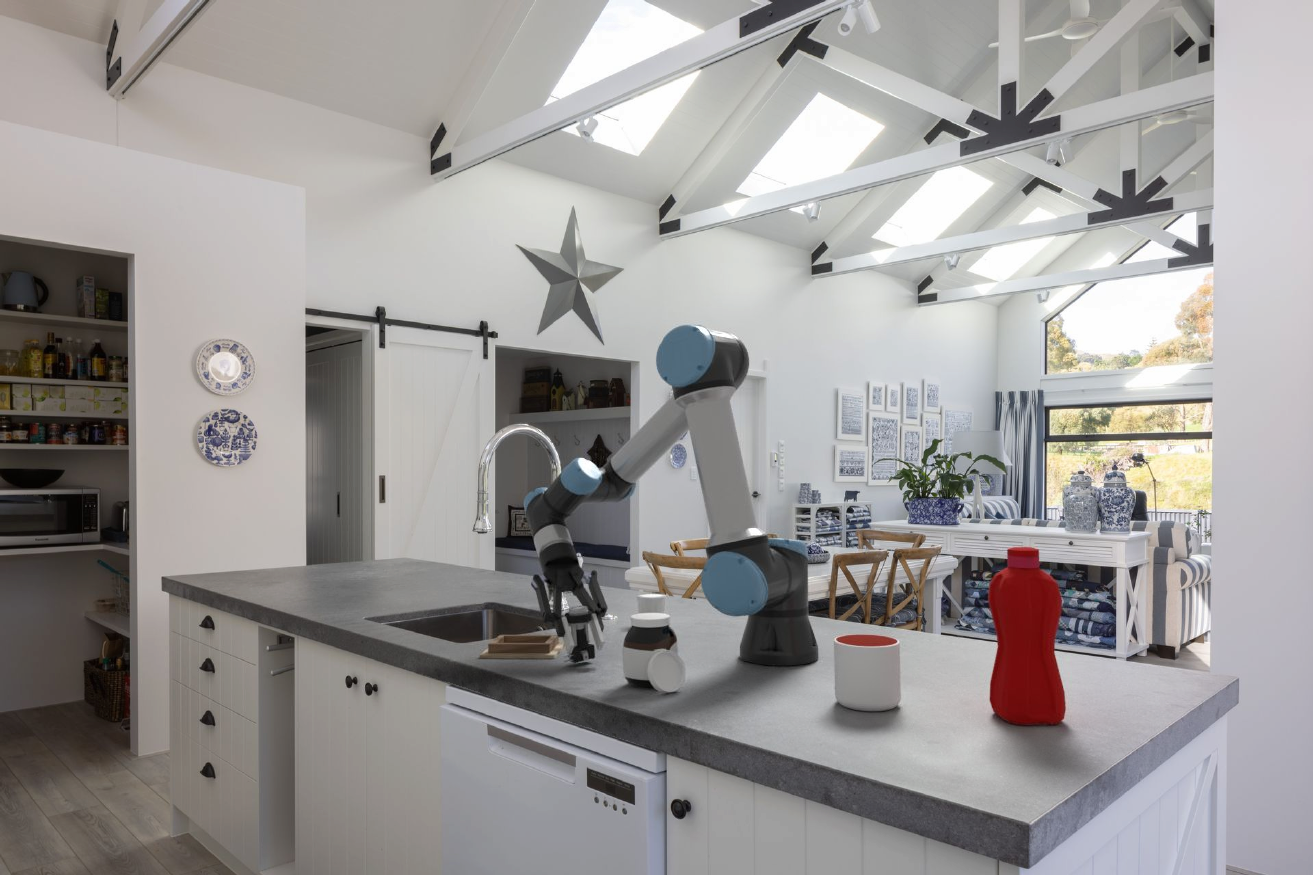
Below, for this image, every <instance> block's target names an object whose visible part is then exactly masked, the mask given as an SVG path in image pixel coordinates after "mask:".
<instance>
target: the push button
mask: <svg viewBox="0 0 1313 875" xmlns="http://www.w3.org/2000/svg"><path fill="white" fill-rule="evenodd" d="M591 615H592V611H589V610H587V606H582V605H576V606H572V607H568V611H567V612H565V613H564V616H563V617H565V616H566V618H567V622H568V624H569V627H570V632H571V635H572V638H573V641H574V648H573V650H572V653H571V654H567V655H564V656H563V658H568V659H567V660H564V661H563V662H564V663H568V662H570V663H573V664H574V663H575V664H577V663H580V662H584V661H588V660H594V659H595V658H596V650H595V648H596V647H595V645H594V644H592V643H591V639H590V635H589V621H591V619H592V617H591Z"/></svg>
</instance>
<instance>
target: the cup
mask: <svg viewBox="0 0 1313 875" xmlns="http://www.w3.org/2000/svg"><path fill="white" fill-rule="evenodd" d="M900 643H901V642H900V641H899V639H897V638H894V637H893V636H892V637H891V636H888V635H881V634H871V633H869V634H866V633H863V634H861V633H858V634H857V633H855V634H854V633H853V634H845V635H839V636H837V637H835V638H834V639H833V659H834V663H833V665H834V667H833V668H834V696H835V699H836V701H837V702H838V704H840V705H841V706H842V707H845V708H848V709H851V710H854V711H860V712H861V711H862V712H884V711H888V710H892V709H894V708H896V707H897V706H898V705H899V704H900V702H901V700H902V691H901V690H902V688H901V685H902V684H901V645H900Z"/></svg>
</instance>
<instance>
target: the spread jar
mask: <svg viewBox="0 0 1313 875" xmlns="http://www.w3.org/2000/svg"><path fill="white" fill-rule="evenodd" d="M670 624H671V616H670V615H669V614H667V613H665V614H663V613H640V614H639V613H634V614H632V615H630V625H631V626H630V628H629V629H628V631H627V633H626V634H625V637H624V639H623V646H622V647H623V648H622V666H623V667H622V670H623V676H624V679H625V681H627V683H628V684H629V685H631V686H632V687H635V688H638V689H639V688H640V689H647V690H648V689H650V690H653V689H655V690H657V691H658V692H659V693H663V694H669V693H674V692H676V691H678V690H680V689H681V687H682V686H683V685H684V683H685V680H686V674H687V672H686V667H685V662H684V660H683V659H682V657H680V655H679V646H678V644H679V643H678V636H677V635H676V634H677V633H676V632H675V630H674V629H673V628H672V627H671V626H670Z"/></svg>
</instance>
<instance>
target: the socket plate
mask: <svg viewBox="0 0 1313 875" xmlns="http://www.w3.org/2000/svg"><path fill="white" fill-rule="evenodd" d="M559 638H560V637H558V636H557V634H499V635H498V636H496V637H495V638H494V639H493V640H492V641H490V642H488V645H487V648H486V649H485V650H484V651H483V652H482V653H480V654H479V656H478V657H479V658H478V659H555V658H556V657H557V656H558V655H559V654H560V652H562V650H563V649H564V648H566V647H565V644H564V641H560V640H559Z"/></svg>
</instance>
